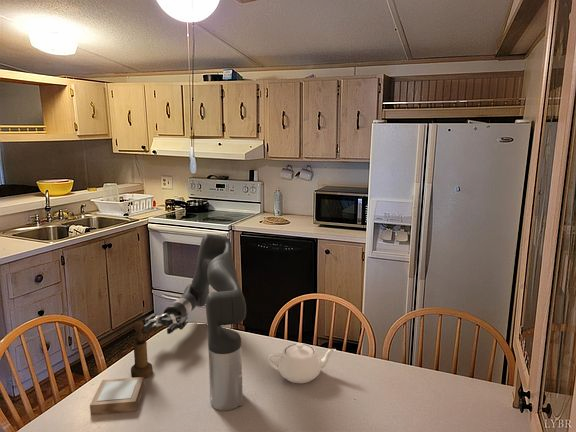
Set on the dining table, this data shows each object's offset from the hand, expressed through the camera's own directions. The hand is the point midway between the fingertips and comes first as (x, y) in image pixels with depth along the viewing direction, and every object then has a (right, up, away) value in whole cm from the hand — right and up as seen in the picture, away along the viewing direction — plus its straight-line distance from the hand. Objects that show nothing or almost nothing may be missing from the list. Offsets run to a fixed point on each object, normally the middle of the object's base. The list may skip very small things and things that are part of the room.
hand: (156, 330), depth 142 cm
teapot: (+49, -12, -9) cm, 52 cm away
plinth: (-4, -14, -21) cm, 26 cm away
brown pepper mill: (-2, -12, -8) cm, 15 cm away
